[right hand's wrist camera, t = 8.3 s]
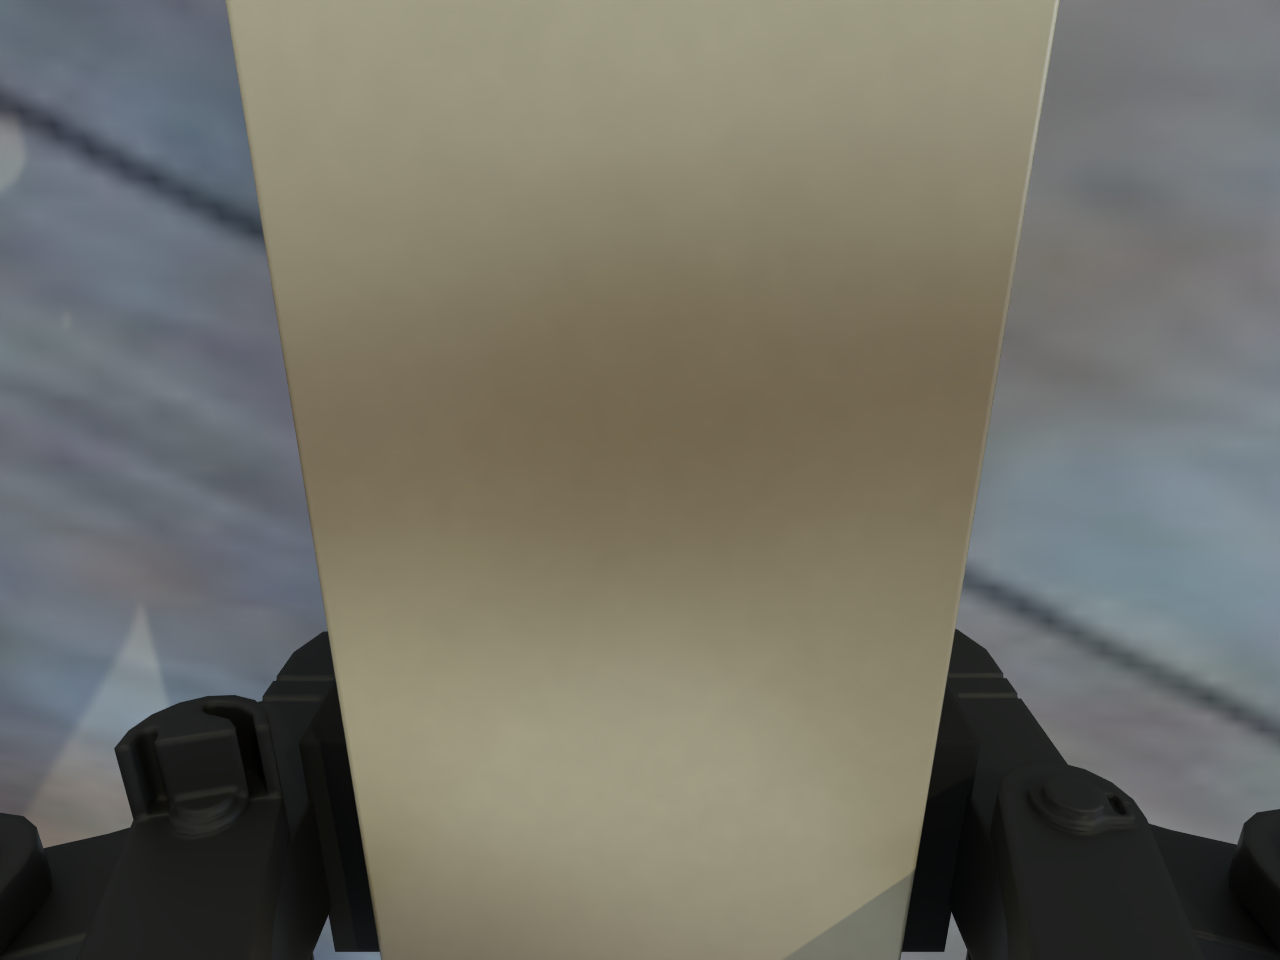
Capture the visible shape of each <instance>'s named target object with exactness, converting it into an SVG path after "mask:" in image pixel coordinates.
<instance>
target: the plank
mask: <svg viewBox="0 0 1280 960" xmlns="http://www.w3.org/2000/svg"><path fill="white" fill-rule="evenodd" d="M1059 1H1060V0H226V6H227V12H228V18H229V25H230V31H231V37H232V43H233V49H234V55H235V62H236V68H237V74H238V80H239V86H240V92H241V99H242V105H243V111H244V117H245V123H246V129H247V135H248V142H249V148H250V154H251V160H252V166H253V172H254V179H255V185H256V191H257V197H258V203H259V209H260V216H261V222H262V228H263V234H264V240H265V246H266V253H267V259H268V265H269V271H270V277H271V283H272V290H273V296H274V302H275V308H276V314H277V320H278V326H279V333H280V339H281V345H282V351H283V357H284V363H285V370H286V376H287V382H288V388H289V394H290V400H291V407H292V413H293V419H294V425H295V431H296V437H297V444H298V450H299V456H300V462H301V468H302V474H303V481H304V487H305V493H306V499H307V505H308V511H309V517H310V524H311V530H312V536H313V542H314V548H315V554H316V561H317V567H318V573H319V579H320V585H321V591H322V598H323V604H324V610H325V616H326V622H327V628H328V635H329V641H330V647H331V653H332V659H333V665H334V672H335V678H336V684H337V690H338V696H339V702H340V708H341V715H342V721H343V727H344V733H345V739H346V745H347V752H348V758H349V764H350V770H351V776H352V782H353V789H354V795H355V801H356V807H357V813H358V819H359V826H360V832H361V838H362V844H363V850H364V856H365V863H366V869H367V875H368V881H369V887H370V893H371V900H372V906H373V912H374V918H375V924H376V930H377V936H378V943H379V949H380V955H381V960H900V958H901V952H902V946H903V940H904V934H905V928H906V922H907V916H908V910H909V904H910V898H911V892H912V886H913V880H914V874H915V868H916V862H917V855H918V849H919V843H920V837H921V831H922V825H923V819H924V813H925V807H926V801H927V795H928V789H929V783H930V777H931V771H932V765H933V759H934V753H935V747H936V741H937V735H938V729H939V723H940V717H941V711H942V705H943V699H944V693H945V687H946V681H947V675H948V669H949V663H950V657H951V651H952V645H953V639H954V633H955V627H956V621H957V615H958V609H959V603H960V597H961V591H962V585H963V579H964V573H965V567H966V560H967V554H968V548H969V542H970V536H971V530H972V524H973V518H974V512H975V506H976V500H977V494H978V488H979V482H980V476H981V470H982V464H983V458H984V452H985V446H986V440H987V434H988V428H989V422H990V416H991V410H992V404H993V398H994V392H995V386H996V380H997V374H998V368H999V362H1000V356H1001V350H1002V344H1003V338H1004V332H1005V326H1006V320H1007V314H1008V308H1009V302H1010V296H1011V290H1012V284H1013V278H1014V272H1015V266H1016V259H1017V253H1018V247H1019V241H1020V235H1021V229H1022V223H1023V217H1024V211H1025V205H1026V199H1027V193H1028V187H1029V181H1030V175H1031V169H1032V163H1033V157H1034V151H1035V145H1036V139H1037V133H1038V127H1039V121H1040V115H1041V109H1042V103H1043V97H1044V91H1045V85H1046V79H1047V73H1048V67H1049V61H1050V55H1051V49H1052V43H1053V37H1054V31H1055V25H1056V19H1057V13H1058V7H1059Z"/></svg>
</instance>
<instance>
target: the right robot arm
mask: <svg viewBox="0 0 1280 960" xmlns="http://www.w3.org/2000/svg"><path fill="white" fill-rule="evenodd" d="M114 749H115V753H116V757H117V760H118V764H119V768H120V772H121V775H122V779H123V783H124V786H125V790H126V794H127V797H128V801H129V805H130V808H131V812H132V816H133V819H134V820H133V823H132V825H131V827H130V828H127V829H123V830H120V831H116V832H113V833H110V834H105V835H101V836H96V837H92V838H88V839H83V840H79V841H74V842H70V843H65V844H61V845H56V846H52V847H48V848H43V846H42V843H41V840H40V837H39V834H38V831H37V827H36V826H34V825H33V824H32V823H31V822H30V821H29V820H27V819H26V818H25V817H24V816H18V815H11V814H5V813H0V960H314V956H313V951H314V948H315V946H316V944H317V941H318V939H319V936H320V934H321V931H322V929H323V927H324V924H325V922H326V919H327V917H328V915H329V919H330V925H331V930H332V936H333V942H334V947H335V952H380V949H379V943H378V936H377V930H376V924H375V918H374V912H373V906H372V900H371V893H370V887H369V881H368V875H367V869H366V863H365V856H364V850H363V844H362V838H361V832H360V826H359V819H358V813H357V807H356V801H355V795H354V789H353V782H352V776H351V770H350V764H349V758H348V752H347V745H346V739H345V733H344V727H343V721H342V715H341V708H340V702H339V696H338V690H337V684H336V678H335V672H334V665H333V659H332V653H331V647H330V641H329V635H328V632H322V633H321V634H319V635H318V636H316V637H315V638H314V639H312V640H311V641H309V642H308V643H306V644H305V645H303V646H302V647H301V648H299V649H298V650H296V651H295V652H294V653H293V654H292V655H291V657H290V658H289V660H288V661H287V663H286V664H285V665H284V667H283V668H282V670H281V671H280V672H279V674H278V675H277V680H276V681H273V682H272V684H271V685H270V687H269V688H268V690H267V691H266V692H265V694H264V695H263V700H262V702H257V701H255V700H252V699H248V698H244V697H240V696H236V695H225V696H206V697H202V698H198V699H194V700H189V701H185V702H181V703H178V704H176V705H173V706H171V707H169V708H166V709H164V710H162V711H159V712H157V713H155V714H152V715H151V716H149V717H148V718H146V719H145V720H143V721H142V722H140V723H139V724H138V725H136V726H135V727H133V728H132V729H130V730H129V731H128V732H127V733H126V735H125V736H124V737H123V738H122V740H121V741H120V742H119V743H118V745H117V746H116V747H115V748H114ZM951 912H952V914H953V916H954V919H955V921H956V924H957V926H958V928H959V931H960V933H961V936H962V938H963V941H964V943H965V945H966V948H967V956H966V960H1280V809H1277V810H1271V811H1264V812H1258V813H1256V814H1255V815H1254V816H1252V817H1251V818H1250V819H1249V820H1248V821H1246V822H1245V823H1244V825H1243V829H1242V832H1241V835H1240V838H1239V841H1238V844H1237V845H1235V844H1231V843H1226V842H1222V841H1217V840H1213V839H1208V838H1204V837H1199V836H1195V835H1191V834H1186V833H1182V832H1177V831H1173V830H1169V829H1165V828H1162V827H1159V826H1155V825H1152V824H1149V823H1148V821H1147V819H1146V817H1145V816H1144V814H1143V813H1142V811H1141V810H1140V809H1139V807H1138V806H1137V804H1136V803H1135V801H1134V800H1133V799H1132V798H1131V797H1129V796H1128V795H1127V794H1126V793H1124V792H1123V791H1122V790H1121V789H1119V788H1118V787H1117V786H1116V785H1114V784H1113V783H1112V782H1110V781H1108V780H1106V779H1104V778H1102V777H1100V776H1098V775H1096V774H1093V773H1091V772H1089V771H1087V770H1085V769H1082V768H1078V767H1074V766H1070V765H1068V764H1067V763H1066V761H1065V760H1064V759H1063V757H1062V756H1061V754H1060V753H1059V752H1058V750H1057V749H1056V747H1055V746H1054V744H1053V743H1052V742H1051V740H1050V739H1049V737H1048V736H1047V735H1046V733H1045V732H1044V730H1043V729H1042V728H1041V726H1040V725H1039V723H1038V722H1037V721H1036V719H1035V718H1034V716H1033V715H1032V713H1031V712H1030V711H1029V709H1028V708H1027V706H1026V705H1025V704H1024V702H1023V701H1022V699H1018V697H1017V692H1016V691H1015V690H1014V688H1013V687H1012V685H1011V684H1010V682H1009V681H1008V680H1007V678H1003V673H1002V671H1001V670H1000V668H999V667H998V666H997V664H996V663H995V661H994V660H993V658H992V657H991V656H990V654H989V653H988V651H987V650H986V649H985V648H983V647H982V646H980V645H979V644H977V643H976V642H975V641H973V640H972V639H970V638H969V637H967V636H966V635H964V634H963V633H962V632H960V631H959V630H957V629H955V633H954V639H953V645H952V651H951V657H950V663H949V669H948V675H947V681H946V687H945V693H944V699H943V705H942V711H941V717H940V723H939V729H938V735H937V741H936V747H935V753H934V759H933V765H932V771H931V777H930V783H929V789H928V795H927V801H926V807H925V813H924V819H923V825H922V831H921V837H920V843H919V849H918V855H917V862H916V868H915V874H914V880H913V886H912V892H911V898H910V904H909V910H908V916H907V922H906V928H905V934H904V940H903V946H902V952H944V950H945V945H946V939H947V933H948V927H949V922H950V916H951Z"/></svg>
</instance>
